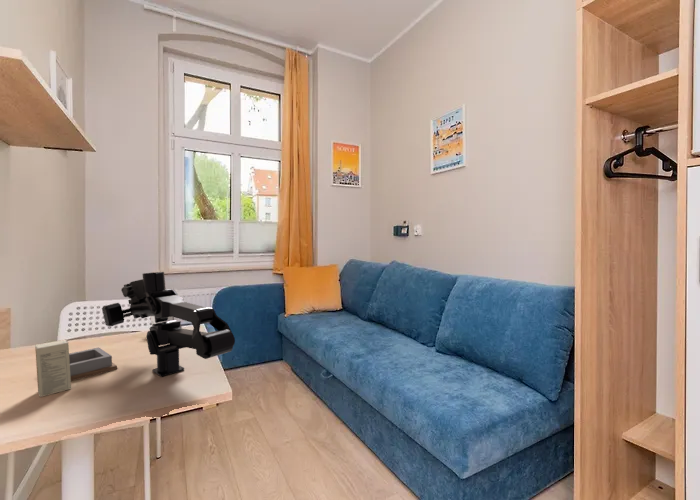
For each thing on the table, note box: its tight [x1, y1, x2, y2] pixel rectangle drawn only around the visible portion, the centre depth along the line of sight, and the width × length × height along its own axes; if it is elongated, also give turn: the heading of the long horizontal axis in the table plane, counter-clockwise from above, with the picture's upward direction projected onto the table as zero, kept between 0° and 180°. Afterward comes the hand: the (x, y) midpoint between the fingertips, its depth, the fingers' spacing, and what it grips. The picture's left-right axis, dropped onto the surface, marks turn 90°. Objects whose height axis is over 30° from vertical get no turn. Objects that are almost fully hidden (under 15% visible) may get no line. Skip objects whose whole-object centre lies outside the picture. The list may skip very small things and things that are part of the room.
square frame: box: [69, 347, 113, 376], centre depth 100 cm, size 12×12×3 cm
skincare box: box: [34, 339, 72, 398], centre depth 86 cm, size 6×4×12 cm
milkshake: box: [150, 316, 162, 327], centre depth 137 cm, size 4×5×10 cm
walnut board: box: [70, 362, 118, 382], centre depth 100 cm, size 14×14×1 cm
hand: (124, 308), depth 112 cm, fingers open, 9 cm apart
